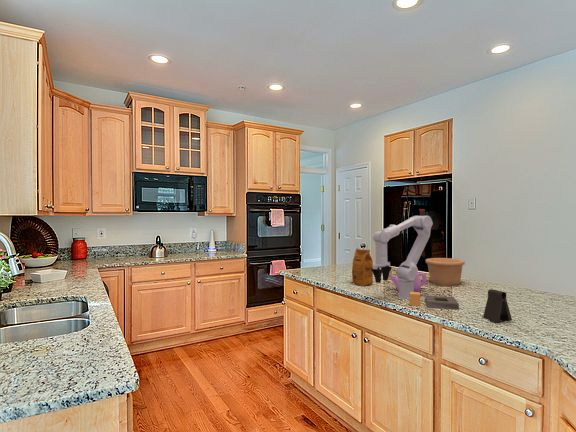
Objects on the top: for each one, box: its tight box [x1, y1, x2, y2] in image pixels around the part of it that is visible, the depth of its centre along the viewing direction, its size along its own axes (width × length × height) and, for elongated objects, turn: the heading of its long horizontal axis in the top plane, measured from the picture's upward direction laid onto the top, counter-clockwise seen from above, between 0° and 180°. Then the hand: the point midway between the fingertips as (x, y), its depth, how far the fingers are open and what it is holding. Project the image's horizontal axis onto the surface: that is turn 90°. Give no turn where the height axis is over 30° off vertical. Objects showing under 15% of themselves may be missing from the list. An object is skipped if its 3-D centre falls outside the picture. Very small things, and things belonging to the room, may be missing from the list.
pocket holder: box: [424, 295, 460, 311], centre depth 162 cm, size 13×13×3 cm
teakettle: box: [388, 271, 428, 293], centre depth 197 cm, size 17×17×12 cm
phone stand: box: [482, 288, 513, 324], centre depth 141 cm, size 9×6×12 cm, turn 110°
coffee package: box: [351, 248, 374, 287], centre depth 214 cm, size 10×12×22 cm
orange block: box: [409, 291, 421, 307], centre depth 164 cm, size 4×4×6 cm
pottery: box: [425, 257, 465, 287], centre depth 212 cm, size 22×22×14 cm
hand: (381, 281), depth 175 cm, fingers open, 7 cm apart
